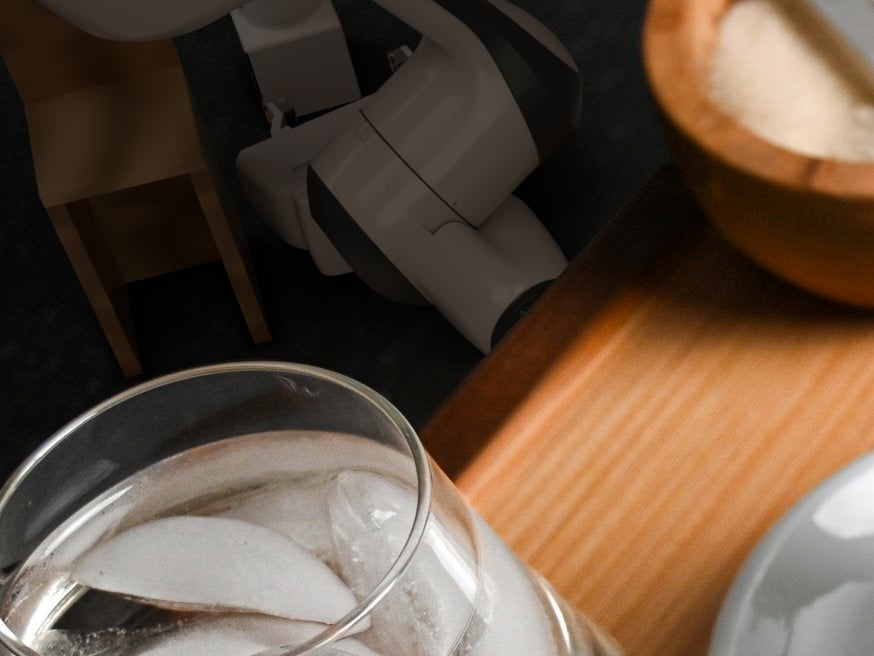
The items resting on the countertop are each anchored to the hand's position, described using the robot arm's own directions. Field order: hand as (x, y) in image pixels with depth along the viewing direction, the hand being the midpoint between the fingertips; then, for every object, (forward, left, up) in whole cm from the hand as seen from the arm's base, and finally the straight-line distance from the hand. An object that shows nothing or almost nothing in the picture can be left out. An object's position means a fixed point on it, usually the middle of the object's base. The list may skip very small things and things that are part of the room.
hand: (337, 82), depth 136 cm
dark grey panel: (0, +9, -7) cm, 11 cm away
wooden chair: (-17, -8, -6) cm, 20 cm away
